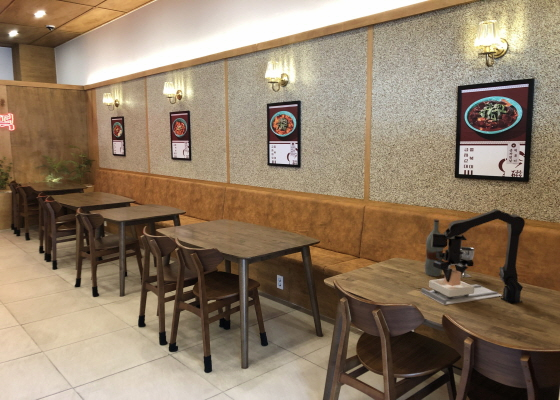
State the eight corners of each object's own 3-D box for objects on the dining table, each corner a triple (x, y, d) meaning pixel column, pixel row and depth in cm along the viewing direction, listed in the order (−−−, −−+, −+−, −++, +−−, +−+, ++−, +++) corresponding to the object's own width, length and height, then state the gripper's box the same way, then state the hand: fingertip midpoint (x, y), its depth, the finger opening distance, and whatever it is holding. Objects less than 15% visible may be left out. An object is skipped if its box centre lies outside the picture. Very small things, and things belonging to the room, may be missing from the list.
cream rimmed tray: (473, 297, 202) (474, 286, 202) (449, 300, 198) (449, 290, 197) (452, 287, 215) (452, 277, 215) (428, 290, 211) (429, 280, 210)
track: (502, 296, 207) (502, 291, 207) (443, 304, 196) (444, 300, 195) (476, 285, 222) (477, 280, 222) (420, 292, 210) (421, 288, 210)
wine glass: (474, 278, 233) (477, 250, 230) (459, 278, 233) (461, 250, 231) (468, 273, 241) (470, 246, 238) (454, 273, 241) (456, 246, 238)
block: (460, 284, 204) (461, 272, 203) (451, 286, 203) (452, 273, 202) (452, 281, 209) (453, 269, 208) (444, 282, 207) (444, 270, 206)
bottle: (421, 271, 243) (424, 218, 239) (436, 270, 245) (439, 218, 240) (429, 277, 234) (433, 221, 230) (445, 276, 236) (449, 221, 231)
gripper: (458, 243, 214) (456, 274, 216) (426, 246, 208) (424, 278, 210) (475, 248, 204) (473, 281, 206) (442, 252, 197) (440, 285, 200)
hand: (452, 281), depth 206 cm, fingers closed on block, 5 cm apart
